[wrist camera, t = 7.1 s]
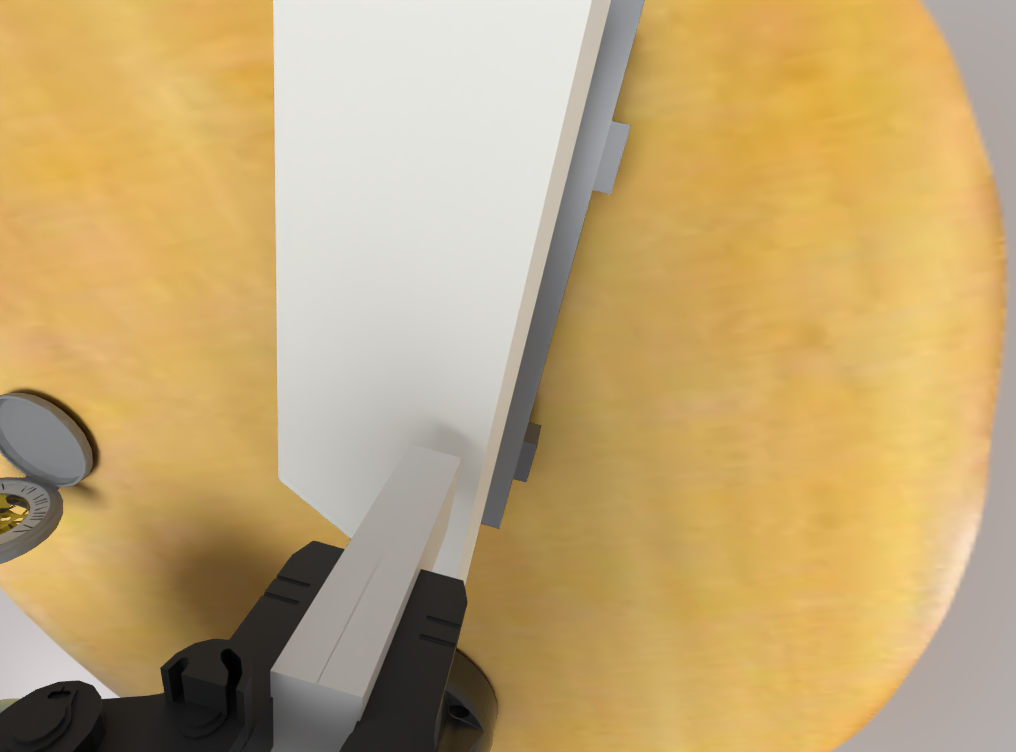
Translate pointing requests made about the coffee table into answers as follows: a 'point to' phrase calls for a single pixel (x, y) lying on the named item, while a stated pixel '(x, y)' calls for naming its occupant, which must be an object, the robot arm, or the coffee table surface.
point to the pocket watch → (37, 469)
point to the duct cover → (414, 232)
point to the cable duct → (566, 244)
